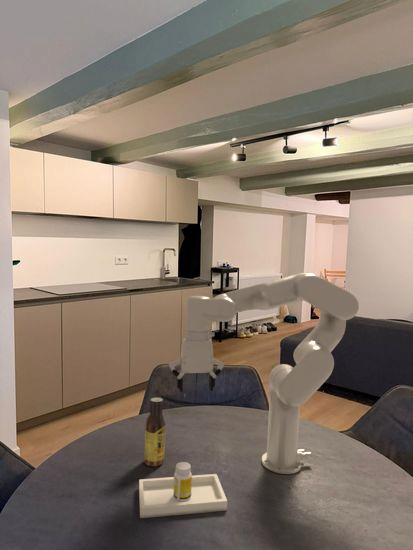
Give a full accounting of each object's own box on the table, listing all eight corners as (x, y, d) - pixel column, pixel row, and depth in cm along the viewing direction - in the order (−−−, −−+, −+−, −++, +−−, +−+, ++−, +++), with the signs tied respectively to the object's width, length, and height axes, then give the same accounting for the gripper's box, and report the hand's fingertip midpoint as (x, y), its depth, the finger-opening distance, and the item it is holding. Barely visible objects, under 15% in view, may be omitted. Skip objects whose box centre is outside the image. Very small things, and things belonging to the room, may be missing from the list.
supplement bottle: (194, 494, 103) (195, 463, 103) (186, 504, 99) (187, 472, 99) (178, 489, 105) (179, 459, 105) (170, 498, 101) (171, 467, 101)
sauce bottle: (160, 469, 116) (162, 404, 116) (140, 466, 118) (143, 402, 117) (166, 458, 123) (169, 397, 122) (148, 455, 124) (150, 395, 123)
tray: (216, 482, 110) (216, 473, 110) (226, 510, 98) (227, 500, 98) (138, 488, 106) (139, 479, 106) (140, 518, 94) (140, 508, 94)
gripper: (222, 333, 124) (219, 385, 125) (168, 333, 121) (166, 386, 122) (227, 338, 117) (225, 393, 118) (171, 338, 114) (169, 395, 114)
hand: (195, 390), depth 120 cm, fingers open, 9 cm apart
